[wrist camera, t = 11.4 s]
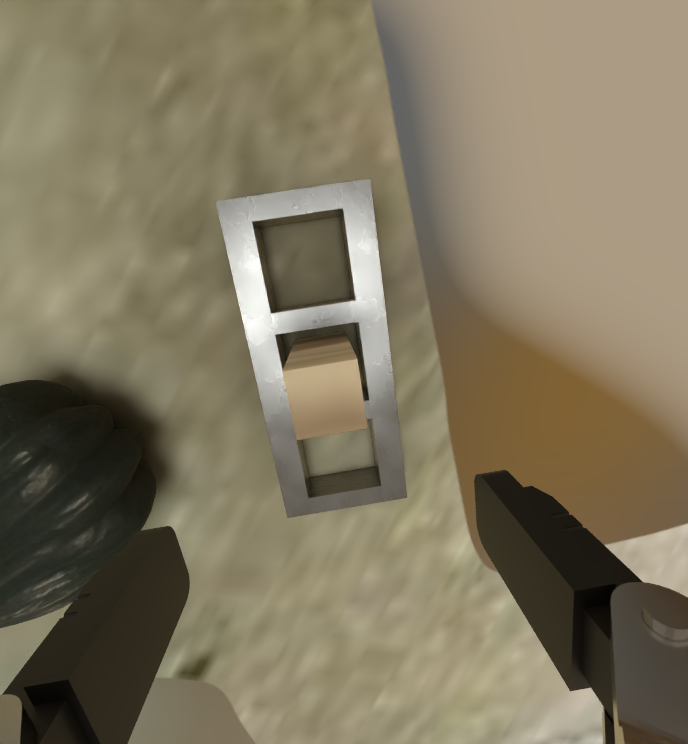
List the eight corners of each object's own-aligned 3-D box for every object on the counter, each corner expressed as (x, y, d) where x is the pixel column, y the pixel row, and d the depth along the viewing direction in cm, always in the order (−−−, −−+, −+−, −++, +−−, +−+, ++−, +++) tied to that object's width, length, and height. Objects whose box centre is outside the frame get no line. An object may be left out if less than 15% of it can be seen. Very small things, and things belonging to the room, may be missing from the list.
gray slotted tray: (227, 210, 25) (215, 201, 22) (364, 189, 25) (370, 178, 22) (290, 496, 32) (287, 518, 29) (399, 477, 32) (407, 497, 29)
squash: (102, 340, 22) (-369, 530, 11) (218, 520, 26) (-44, 771, 16) (57, 364, 31) (-223, 479, 21) (148, 493, 36) (-45, 640, 25)
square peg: (295, 339, 28) (282, 371, 18) (344, 331, 28) (357, 359, 18) (304, 386, 29) (296, 440, 19) (352, 378, 29) (367, 428, 19)
